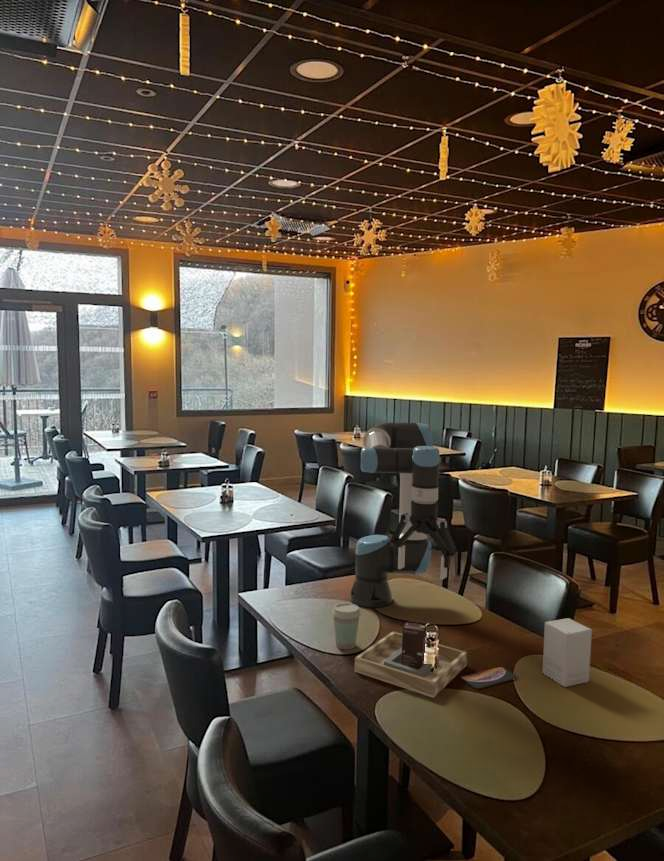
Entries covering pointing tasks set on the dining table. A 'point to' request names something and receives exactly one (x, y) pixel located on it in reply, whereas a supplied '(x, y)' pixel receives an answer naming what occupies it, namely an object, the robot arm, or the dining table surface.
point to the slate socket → (394, 663)
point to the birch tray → (429, 685)
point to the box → (413, 645)
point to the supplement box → (567, 652)
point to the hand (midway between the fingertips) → (421, 572)
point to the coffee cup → (346, 624)
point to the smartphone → (488, 678)
